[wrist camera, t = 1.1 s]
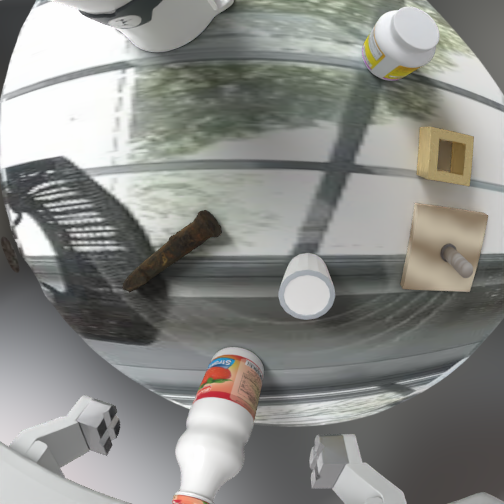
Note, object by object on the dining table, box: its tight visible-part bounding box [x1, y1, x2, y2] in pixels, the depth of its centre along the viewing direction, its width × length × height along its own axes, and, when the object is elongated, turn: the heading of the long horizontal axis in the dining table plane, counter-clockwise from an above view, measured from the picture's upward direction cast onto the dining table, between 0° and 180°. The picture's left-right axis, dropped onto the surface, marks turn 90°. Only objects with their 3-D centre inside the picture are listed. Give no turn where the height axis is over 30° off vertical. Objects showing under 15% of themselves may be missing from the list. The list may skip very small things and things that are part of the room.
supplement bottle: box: [362, 7, 439, 81], centre depth 24 cm, size 7×7×13 cm
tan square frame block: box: [417, 127, 474, 186], centre depth 32 cm, size 6×6×4 cm
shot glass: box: [278, 253, 335, 320], centre depth 39 cm, size 7×7×7 cm
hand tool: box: [123, 210, 222, 292], centre depth 43 cm, size 19×4×5 cm, turn 123°
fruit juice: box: [172, 347, 264, 504], centre depth 38 cm, size 9×9×28 cm
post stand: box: [400, 203, 488, 292], centre depth 34 cm, size 12×12×8 cm
